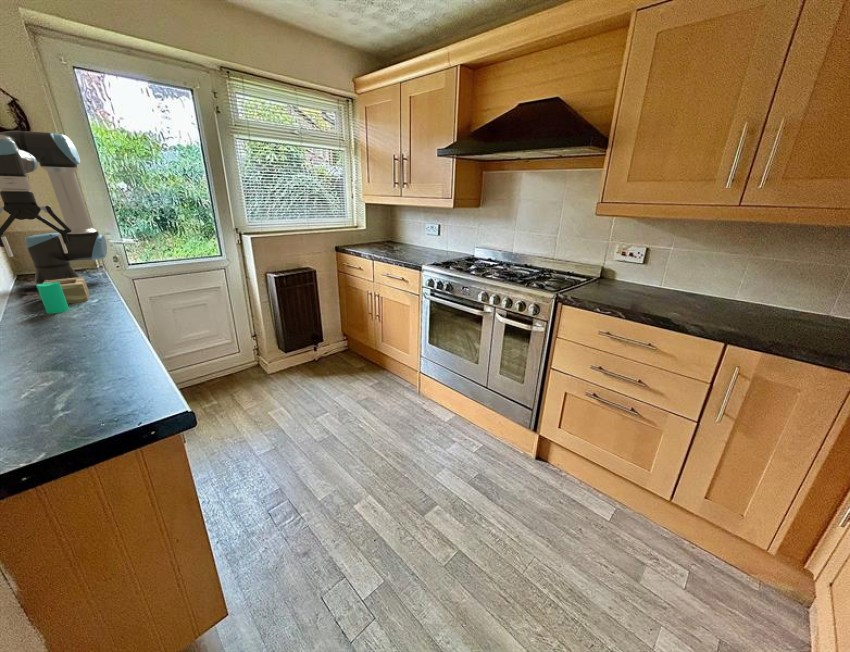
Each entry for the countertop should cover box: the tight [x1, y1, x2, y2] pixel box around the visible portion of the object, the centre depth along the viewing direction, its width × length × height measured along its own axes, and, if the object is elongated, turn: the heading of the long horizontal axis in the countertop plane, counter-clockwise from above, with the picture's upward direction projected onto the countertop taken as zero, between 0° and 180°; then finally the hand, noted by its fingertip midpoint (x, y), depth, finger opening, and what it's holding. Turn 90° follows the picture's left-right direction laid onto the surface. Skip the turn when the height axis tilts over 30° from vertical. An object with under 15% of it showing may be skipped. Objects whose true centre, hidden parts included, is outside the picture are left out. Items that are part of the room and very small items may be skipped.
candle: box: [35, 281, 70, 314], centre depth 129 cm, size 6×6×12 cm
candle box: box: [43, 276, 90, 305], centre depth 144 cm, size 16×12×7 cm
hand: (39, 254), depth 124 cm, fingers open, 13 cm apart
